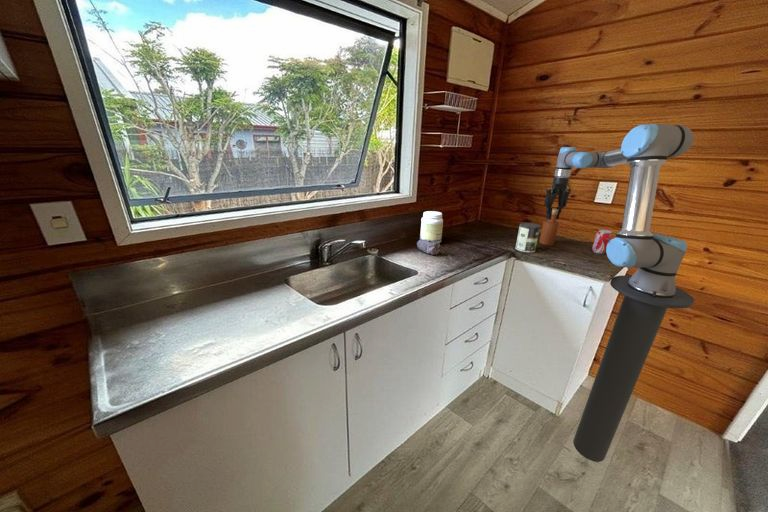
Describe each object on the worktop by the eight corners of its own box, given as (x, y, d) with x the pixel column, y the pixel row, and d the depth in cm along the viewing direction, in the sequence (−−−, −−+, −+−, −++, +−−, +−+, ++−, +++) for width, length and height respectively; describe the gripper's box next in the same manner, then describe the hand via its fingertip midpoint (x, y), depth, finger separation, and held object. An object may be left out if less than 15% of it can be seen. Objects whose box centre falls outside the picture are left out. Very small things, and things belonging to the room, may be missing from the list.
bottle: (550, 246, 174) (557, 217, 168) (536, 242, 179) (542, 214, 173) (556, 243, 178) (562, 215, 172) (542, 240, 184) (548, 212, 178)
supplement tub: (445, 242, 175) (448, 213, 169) (431, 246, 167) (433, 216, 161) (429, 237, 183) (431, 209, 177) (415, 240, 176) (417, 212, 170)
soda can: (588, 250, 169) (594, 229, 164) (601, 250, 169) (607, 229, 164) (596, 254, 162) (602, 233, 158) (609, 255, 162) (616, 233, 158)
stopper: (553, 222, 171) (556, 210, 169) (545, 220, 174) (548, 208, 172) (557, 221, 174) (560, 209, 171) (549, 219, 177) (551, 207, 175)
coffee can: (536, 248, 168) (541, 224, 163) (534, 254, 160) (539, 228, 155) (516, 245, 173) (521, 221, 168) (513, 250, 165) (518, 225, 160)
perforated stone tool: (413, 249, 163) (414, 236, 160) (420, 247, 165) (421, 235, 163) (433, 257, 151) (434, 244, 149) (440, 255, 154) (442, 242, 152)
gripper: (571, 176, 170) (561, 217, 178) (542, 176, 167) (533, 217, 176) (581, 178, 163) (570, 220, 171) (551, 177, 160) (541, 220, 169)
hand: (551, 218), depth 174 cm, fingers closed on stopper, 5 cm apart
